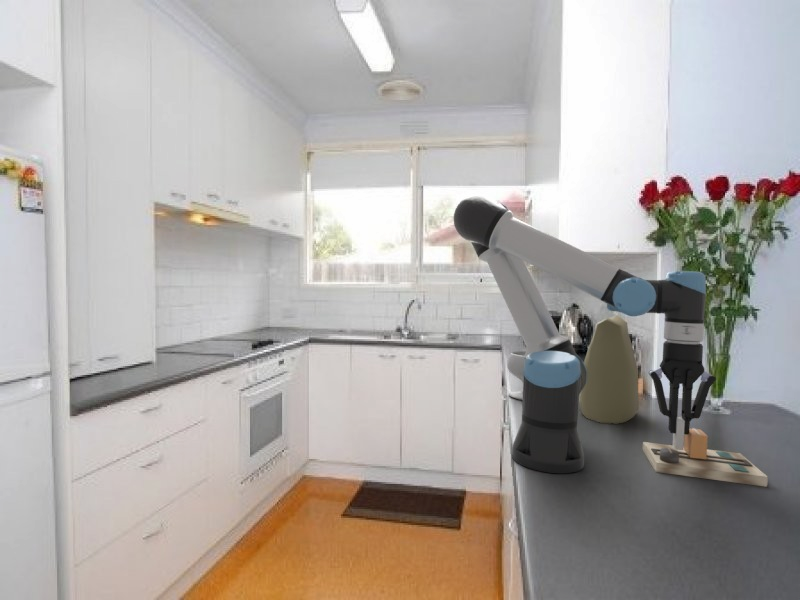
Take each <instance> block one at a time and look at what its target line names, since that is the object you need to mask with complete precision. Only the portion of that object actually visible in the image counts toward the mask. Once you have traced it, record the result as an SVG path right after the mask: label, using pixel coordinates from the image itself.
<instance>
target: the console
mask: <svg viewBox="0 0 800 600" xmlns="http://www.w3.org/2000/svg"><path fill="white" fill-rule="evenodd" d="M642 451H643V453H644V455H645V456H646V458H647V460H648V461H649V463H650V465H651V466H652V468H653V470H654V472H655V473H661V474H669V475H678V476H684V477H691V478H698V479H700V478H701V479H707V480H714V481H721V482H730V483H737V484H744V485H752V486H758V487H759V486H760V487H766V488H767V487H768V478H769V476H768V475H766V474H765V473H764V472H763V471H761V470H760V469H759V468H758V467H757V466H755V464H754V463H752V462H751V461H750V460H748V459H747V458H746V457H745V456H744V455H743V454H742V453H741V452H733V451H723V450H716V449H714V450H713V449H708V448H707V457H706V459H699V458H691V457H690V456H689V455H688V454H687V453H686V452H685V450H684V446H683V450H676V449H675V448H674V447H673V444H672V445H671V444H663V443H655V442H647V441H643V442H642Z"/></svg>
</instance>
